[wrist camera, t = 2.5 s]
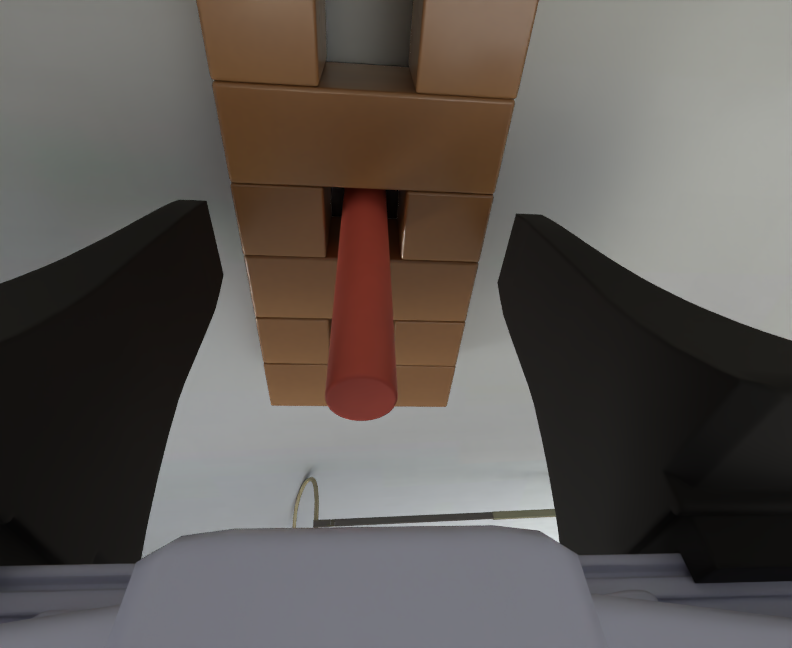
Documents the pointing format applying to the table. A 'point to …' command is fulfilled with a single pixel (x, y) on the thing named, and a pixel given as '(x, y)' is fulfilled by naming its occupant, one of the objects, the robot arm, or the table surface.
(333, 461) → the table surface
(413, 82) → the caddy
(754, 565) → the robot arm
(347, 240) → the red cylindrical rod
